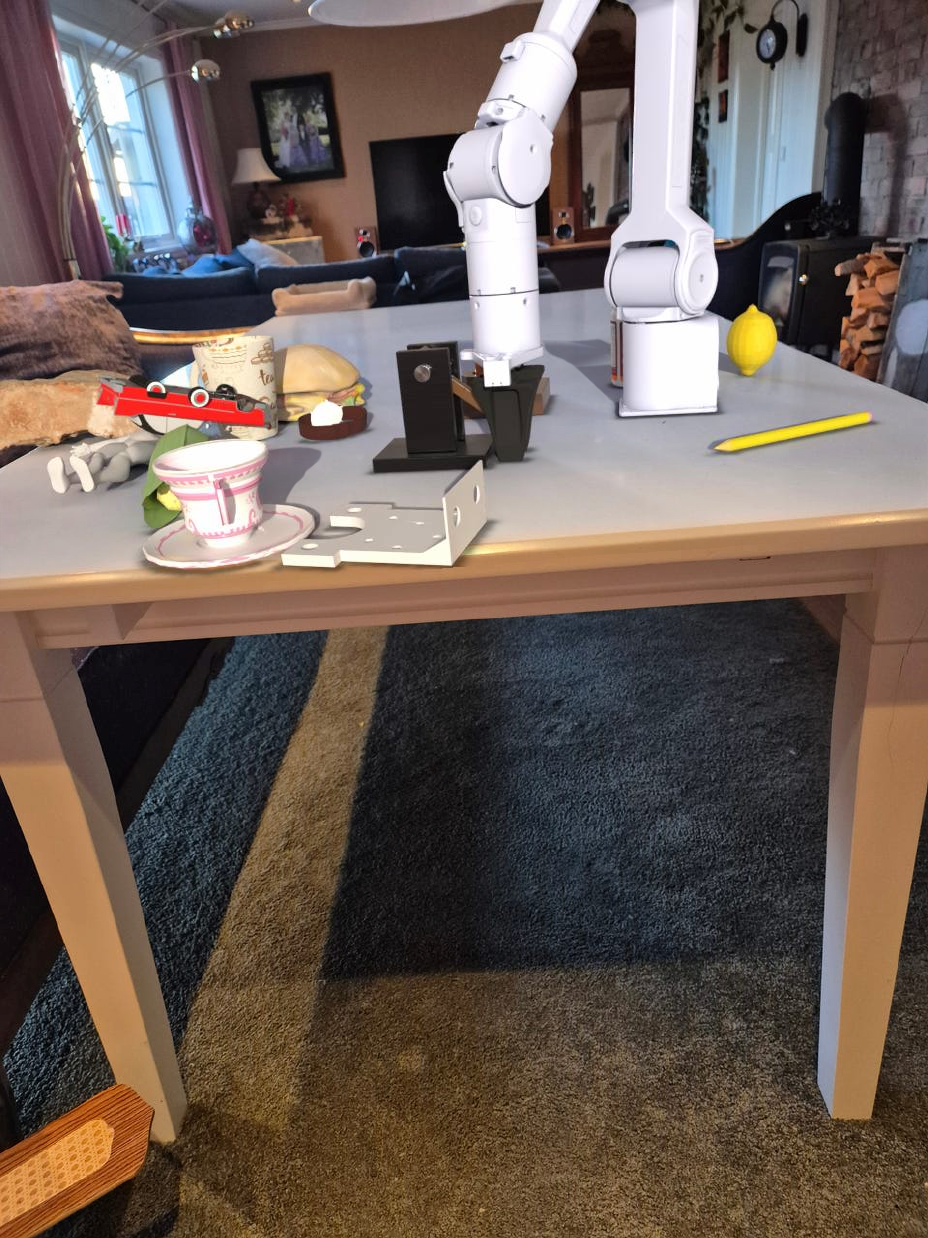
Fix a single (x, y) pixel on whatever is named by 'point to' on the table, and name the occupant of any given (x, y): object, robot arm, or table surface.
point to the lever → (463, 391)
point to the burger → (313, 380)
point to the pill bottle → (616, 349)
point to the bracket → (401, 531)
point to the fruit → (751, 340)
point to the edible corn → (156, 492)
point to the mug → (240, 378)
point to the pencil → (794, 431)
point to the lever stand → (432, 415)
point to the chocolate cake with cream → (332, 421)
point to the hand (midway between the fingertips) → (513, 455)
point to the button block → (539, 402)
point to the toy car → (176, 404)
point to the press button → (478, 369)
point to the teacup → (221, 508)
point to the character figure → (105, 460)
